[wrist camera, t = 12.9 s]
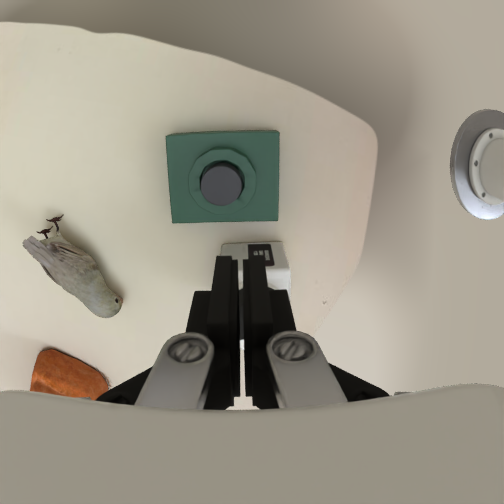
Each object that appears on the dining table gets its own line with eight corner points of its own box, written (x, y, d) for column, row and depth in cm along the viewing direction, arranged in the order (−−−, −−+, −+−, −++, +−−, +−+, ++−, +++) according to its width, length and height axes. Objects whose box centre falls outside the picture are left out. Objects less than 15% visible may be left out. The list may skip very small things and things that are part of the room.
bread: (38, 414, 58) (20, 453, 46) (41, 338, 47) (9, 387, 35) (92, 441, 62) (80, 482, 50) (115, 376, 51) (95, 433, 39)
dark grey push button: (241, 162, 32) (241, 165, 30) (241, 199, 33) (242, 205, 31) (201, 163, 32) (199, 166, 30) (203, 200, 33) (201, 206, 31)
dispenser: (276, 130, 35) (281, 133, 30) (275, 212, 39) (280, 227, 34) (171, 133, 34) (161, 137, 30) (177, 215, 39) (168, 230, 34)
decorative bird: (112, 309, 44) (95, 341, 38) (41, 229, 38) (13, 251, 32) (135, 292, 43) (119, 324, 36) (61, 206, 37) (32, 226, 30)
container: (221, 243, 40) (213, 301, 29) (282, 240, 40) (299, 297, 29) (225, 295, 44) (221, 362, 32) (282, 292, 44) (295, 358, 32)
